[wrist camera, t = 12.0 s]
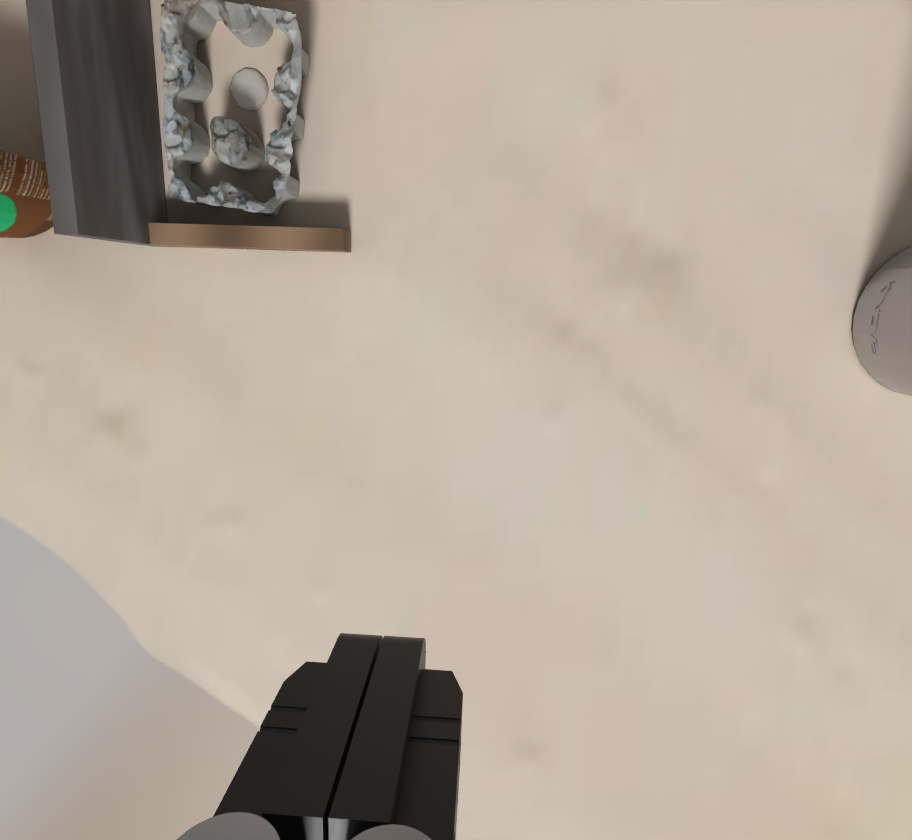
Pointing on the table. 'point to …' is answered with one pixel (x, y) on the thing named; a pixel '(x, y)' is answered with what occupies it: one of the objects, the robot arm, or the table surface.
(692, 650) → the table surface
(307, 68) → the egg carton
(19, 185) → the food container
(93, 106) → the display stand
